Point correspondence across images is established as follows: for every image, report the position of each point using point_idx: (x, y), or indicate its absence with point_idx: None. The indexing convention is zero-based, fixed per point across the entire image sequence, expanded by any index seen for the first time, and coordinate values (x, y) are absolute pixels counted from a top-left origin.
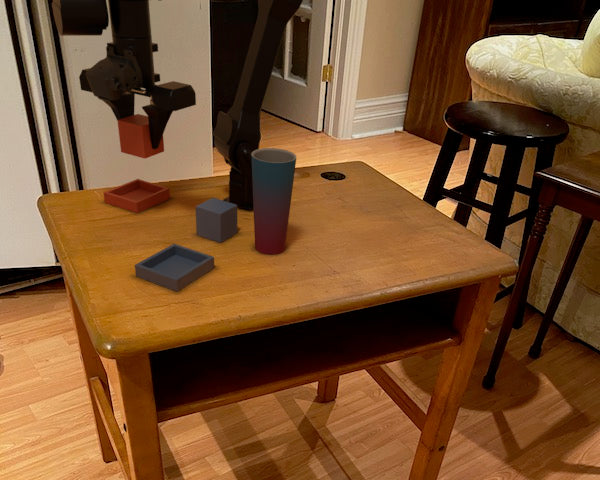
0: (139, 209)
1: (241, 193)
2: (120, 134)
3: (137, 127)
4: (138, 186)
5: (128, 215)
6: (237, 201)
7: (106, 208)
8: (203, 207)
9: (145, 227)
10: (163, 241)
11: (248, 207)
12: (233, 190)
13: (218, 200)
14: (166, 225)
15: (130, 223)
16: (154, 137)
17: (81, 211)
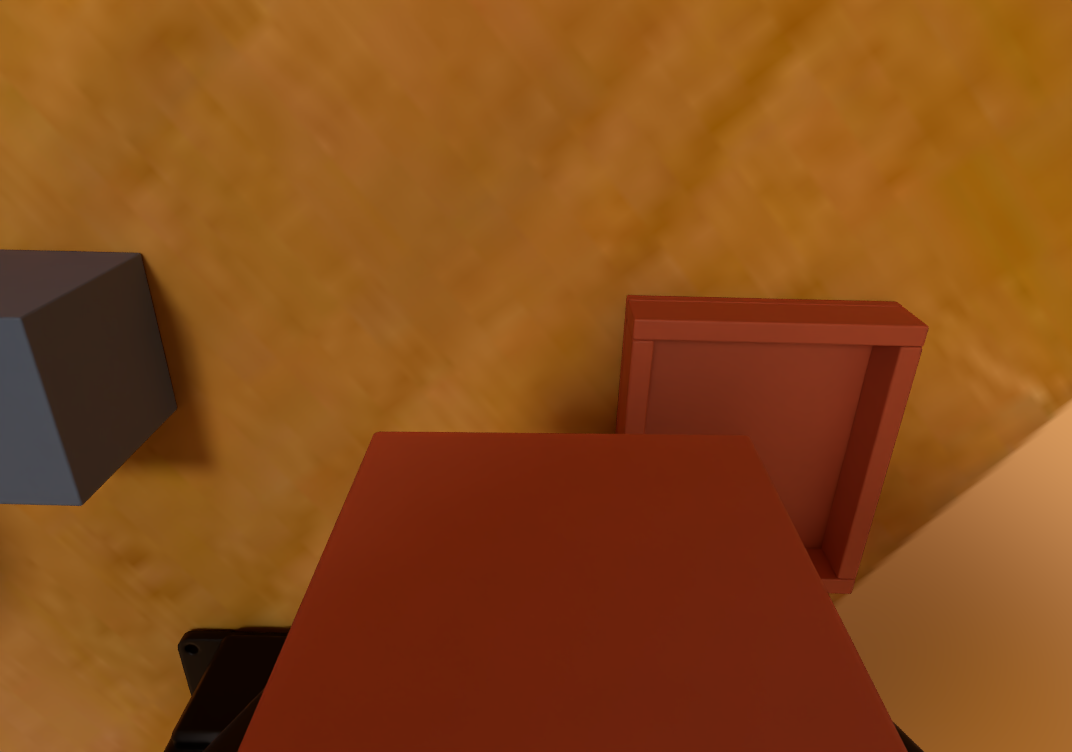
0: (627, 320)
1: (193, 693)
2: (791, 585)
3: (362, 750)
4: (824, 554)
5: (653, 237)
6: (235, 650)
7: (838, 238)
8: None
9: (447, 154)
10: (206, 47)
11: (194, 644)
12: (239, 696)
13: (17, 489)
14: (371, 258)
15: (564, 145)
16: (233, 720)
17: (963, 96)
